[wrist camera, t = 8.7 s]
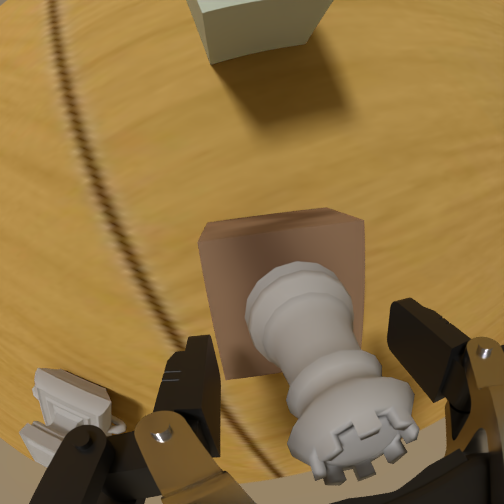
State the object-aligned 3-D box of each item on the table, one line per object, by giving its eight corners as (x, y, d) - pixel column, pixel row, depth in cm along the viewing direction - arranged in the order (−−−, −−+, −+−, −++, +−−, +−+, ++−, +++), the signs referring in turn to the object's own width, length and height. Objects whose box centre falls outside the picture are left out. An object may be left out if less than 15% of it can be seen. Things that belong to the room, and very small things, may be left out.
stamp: (48, 396, 19) (13, 454, 11) (40, 346, 17) (-12, 406, 9) (131, 431, 20) (111, 502, 12) (134, 385, 19) (104, 470, 10)
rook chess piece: (295, 363, 13) (345, 505, 5) (222, 314, 12) (220, 483, 4) (360, 297, 12) (471, 411, 5) (292, 235, 11) (404, 343, 4)
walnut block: (326, 207, 16) (364, 220, 11) (330, 313, 18) (360, 354, 13) (207, 222, 16) (197, 242, 11) (225, 330, 18) (225, 379, 13)
